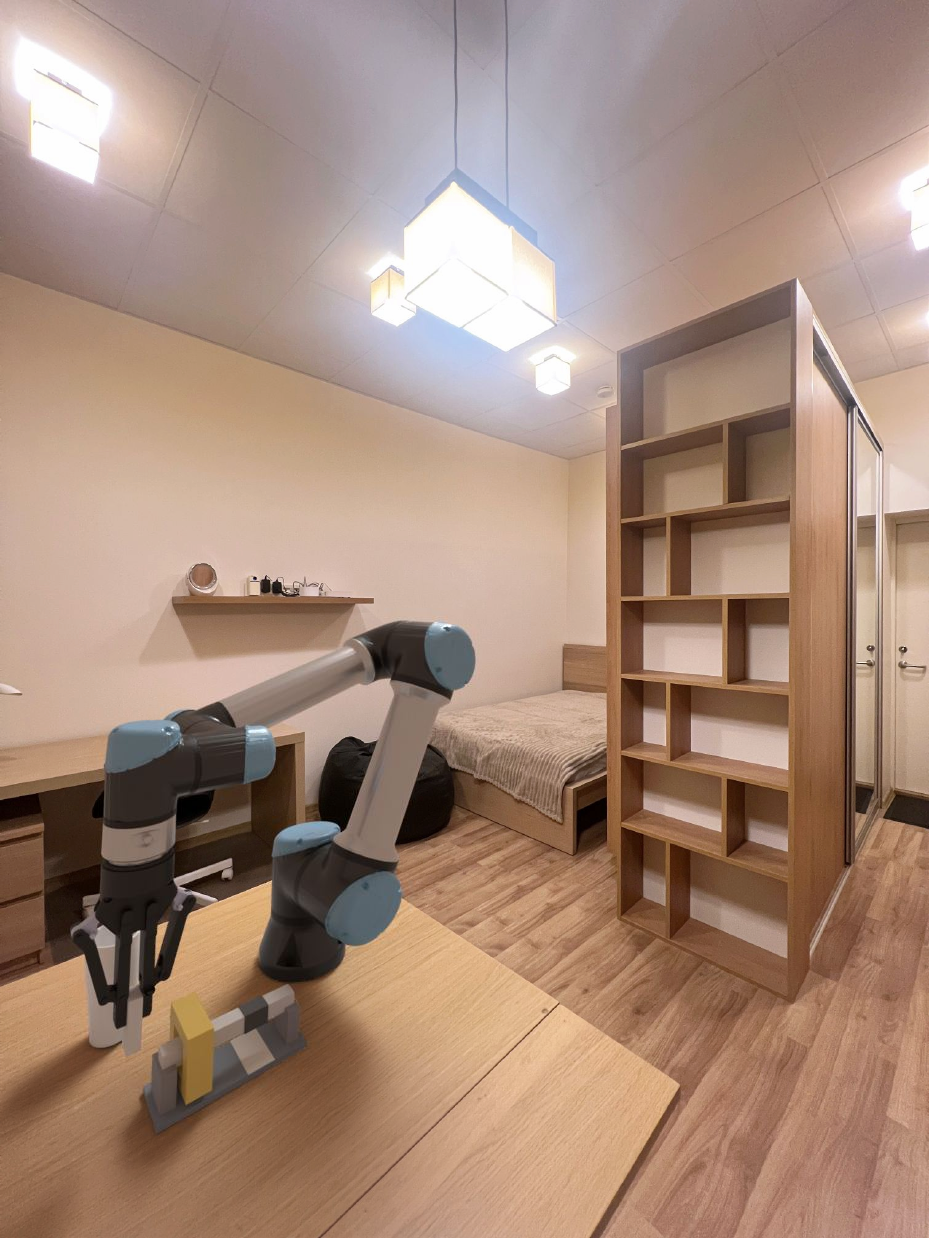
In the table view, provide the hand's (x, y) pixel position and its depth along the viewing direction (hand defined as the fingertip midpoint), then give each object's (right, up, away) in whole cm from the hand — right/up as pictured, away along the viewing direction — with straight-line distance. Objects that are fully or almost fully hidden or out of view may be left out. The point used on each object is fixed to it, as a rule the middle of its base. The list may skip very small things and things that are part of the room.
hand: (131, 1046), depth 62 cm
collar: (+5, -8, +5) cm, 10 cm away
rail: (+8, -10, +8) cm, 15 cm away
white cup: (-11, -9, +13) cm, 19 cm away
